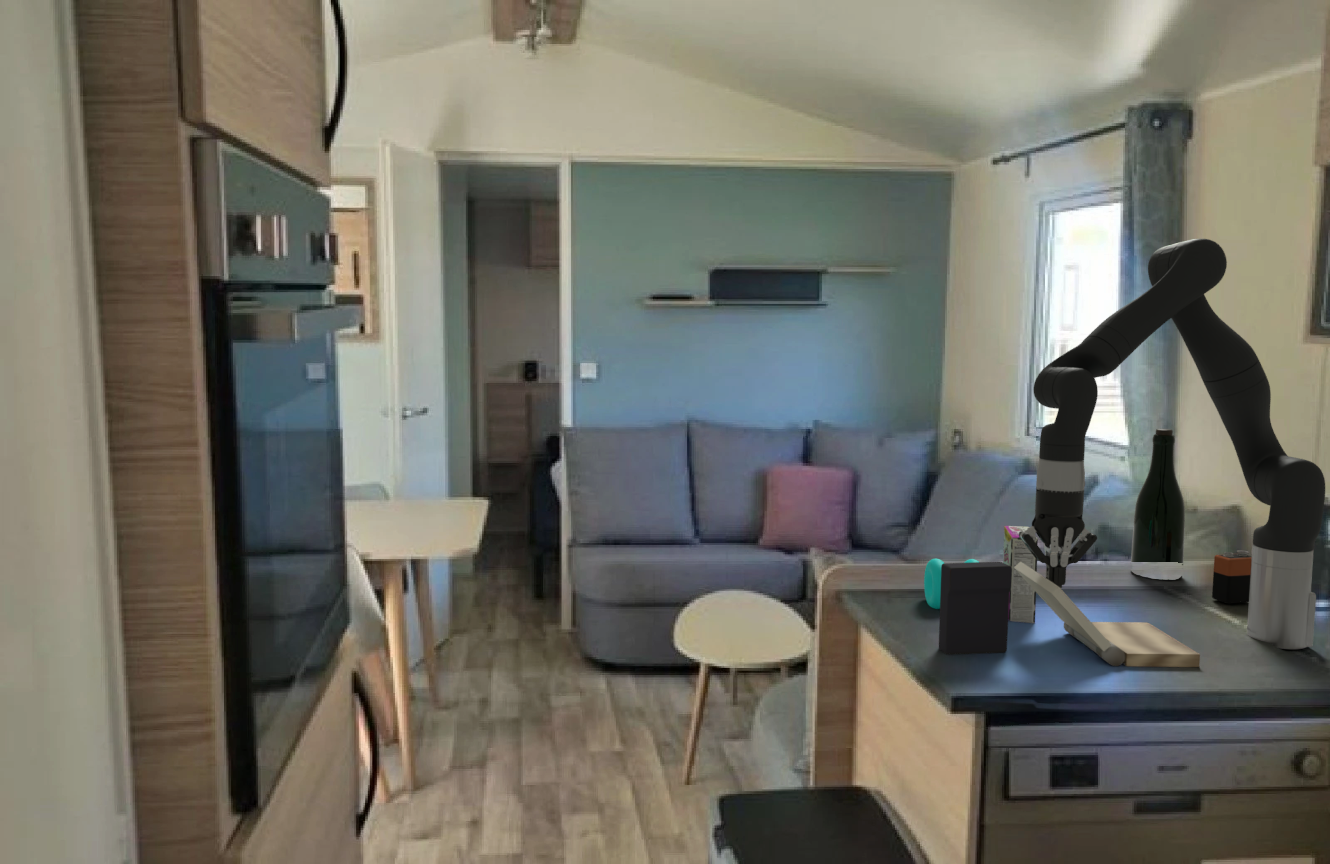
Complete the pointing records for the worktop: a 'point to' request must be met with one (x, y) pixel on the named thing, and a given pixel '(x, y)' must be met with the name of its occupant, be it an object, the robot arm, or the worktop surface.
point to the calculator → (974, 607)
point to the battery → (1232, 577)
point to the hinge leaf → (1064, 608)
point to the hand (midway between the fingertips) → (1055, 587)
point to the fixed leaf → (1142, 646)
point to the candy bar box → (1019, 576)
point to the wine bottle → (1160, 508)
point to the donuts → (935, 581)
